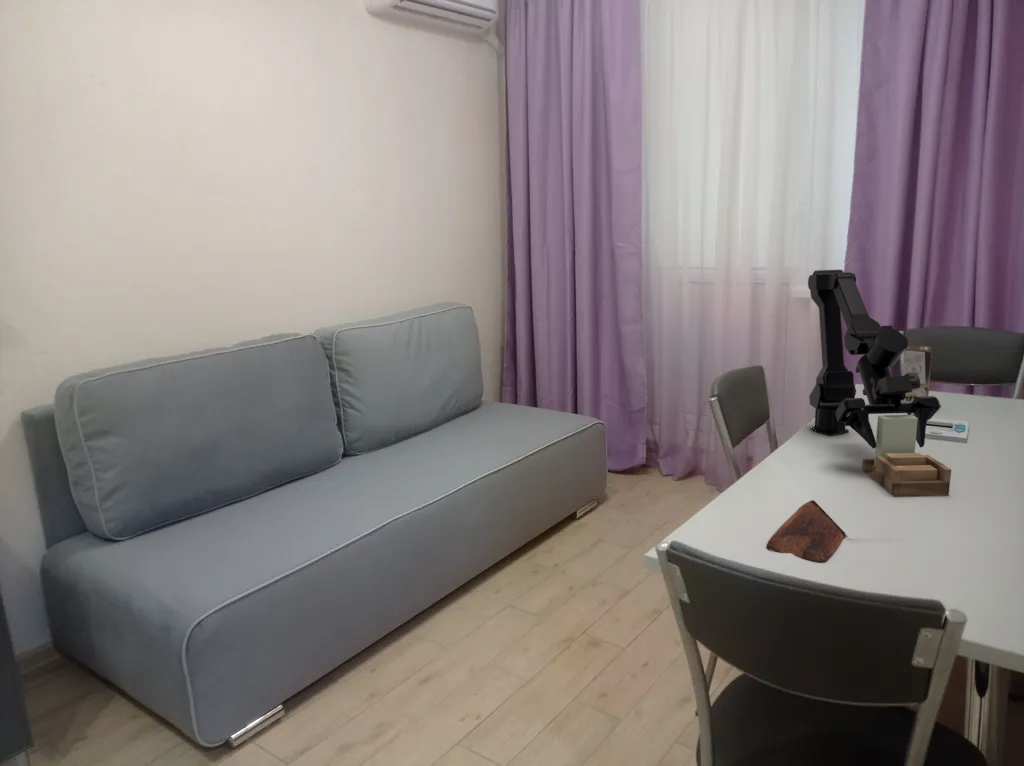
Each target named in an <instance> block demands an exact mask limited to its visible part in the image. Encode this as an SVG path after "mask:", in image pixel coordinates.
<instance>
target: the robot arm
mask: <svg viewBox="0 0 1024 766" xmlns="http://www.w3.org/2000/svg"><path fill="white" fill-rule="evenodd" d="M807 287H808V289H809V292H810V293H809V294H810V299H812V301H813V302H814V303H815V305H816V306H817V307H818V314H819V331H820V345H821V347H820V348H821V362H822V363H821V364H822V368H821V369H820V371H819V373H818V374H817V376H816V378H815V381H816V382H815V386H814V387H813V389H812V391H811V393H810V394H809V399H808V400H809V406H811V407H813V408H814V409H815V410H814V411H815V415H814V426H809V429H810V428H811V427H812V428H811V429H813V430H812V431H814V430H816V431H815V432H817V431H818V433H820V432H821V433H820V434H824V435H826V436H834V435H838V434H845V433H849V431H850V430H849V429H848V428H846V427H850V428H851V429H852V430H853V431H855V432H856V433H857V435H859V436H860V437H861V438H862V439H863V440H864V441H865V442H866V443H867V444H868V445H869V446H870V448H872V449H876V437H875V435H874V432H873V428H872V427H871V426H872V425H871V422H870V419H869V417H870V416H869V415H877V414H879V415H883V414H884V415H885V414H890V413H891V414H906V415H913V416H915V417H917V418H918V422H917V432H916V443H917V444H918V446H919V448H923V447H924V446H925V442H926V438H925V431H926V430H927V428H926V427H927V424H926V423H927V420H929V419H931V418H934V415H935V414H936V413H937V412H938V411H939V410H940V409H941V407H942V405H941V402H940V400H939V398H937V397H936V396H934V395H928V396H917V397H916V398H915V399H914V400H913V401H912V403H902V404H901V400H904V399H905V398H906V395H905V393H908V392H912V389H917V388H919V387H920V378H919V376H918V374H917V372H912V373H907V374H905V375H904V376H902V375H893V374H892V370H891V367H893V366H894V365H896V363H897V361H898V360H899V359H900V357H901V356H902V355H903V354H904V350H905V349H906V347H907V346H908V345H909V340H908V338H907V337H906V336H905V335H904V334H903V333H902V332H900V331H898V330H895V329H894V327H893V325H891V324H889V325H881V324H880V323H879V322H878V321H877V320H874V319H873V318H872V317H871V316H870V315H869V313H868V310H867V307H866V305H865V303H864V300H863V298H862V295H861V292H860V290H859V288H858V285H857V275H856V274H855V273H854V272H849V271H847V272H844V271H843V269H822V270H821V269H819V270H818V269H817V270H816V269H815V270H814V271H813V272H812V274H810V275H809V276H808V279H807ZM842 317H843V321H844V322H845V325H846V331H845V333H844V338H843V328H842V326H843V325H842ZM843 339H844V342H843ZM843 343H844V344H843ZM844 347H845V349H846V351H847V352H848V354H850V355H852V356H861V357H860V358H859V360H858V361H857V363H856V364H857V365H856V367H855V373H857V374H859V375H860V377H861V382H862V385H863V390H862V392H861V393H862V395H863V396H866V398H867V401H868V403H867V404H866V401H865V399H864V398H862V397H855V396H856V394H857V389H856V386H855V382H854V381H855V380H854V373H853V371H852V370H849V369H848V368H847V367H846V365H845V359H844V358H845V357H844V355H845V354H844ZM811 429H810V430H811Z"/></svg>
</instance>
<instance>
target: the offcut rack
mask: <svg viewBox="0 0 1024 766" xmlns="http://www.w3.org/2000/svg"><path fill="white" fill-rule="evenodd" d="M923 455H924V456H925V457H926V463H925V465H931V466H932V467H934V468H936V469H937V479H936V481H901V470H900V469H899V468H897V467H896V466H894V465H893V464H892V463H890V462H889V461H887V460H886V459H885V458H883V457H882V456H876V463H875V466H874V461H875V458H862V462H861V463H862V464H861V468H860V469H859V470H860V471H862V472H863V473H864V474H865V475H867V477H869V478H870V479H872V480H873V481H874V482H875V483H876V484H878V485H879V486H880V487H881V488H882V489H884V490H885V491H886V492H887V493H889V494H890V495H891V496H892V497H894V498H904V497H905V498H908V497H909V498H910V497H916V498H917V497H946V496H947V497H949V496H950V487H951V479H952V478H951V477H952V468H950V467H948V466H947V465H946V464H943V463H941V461H939V460H937V459H936V458H934V457H932V456H930V455H929V454H923Z"/></svg>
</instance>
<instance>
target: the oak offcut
mask: <svg viewBox="0 0 1024 766" xmlns="http://www.w3.org/2000/svg"><path fill="white" fill-rule="evenodd" d="M924 455H925V454H923V453H920V452H915V453H894V454H885V459H886V460H887V461H889V462H890V463H892V464H893V465H894V466H917V465H925V463H926V457H925V456H924Z"/></svg>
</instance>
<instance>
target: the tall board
mask: <svg viewBox="0 0 1024 766" xmlns="http://www.w3.org/2000/svg"><path fill="white" fill-rule="evenodd" d="M917 422H918V418H917V417H915V416H913V415H908V414H901V415H885V414H884V415H883V414H879V415H877V426H876V437H875V441H876V448H874V449H875V453H874V459H875V461H874V466H875V463H876V456H882V457H883V458H885V454H894V453H916V443H917V441H916V432H917Z"/></svg>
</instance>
